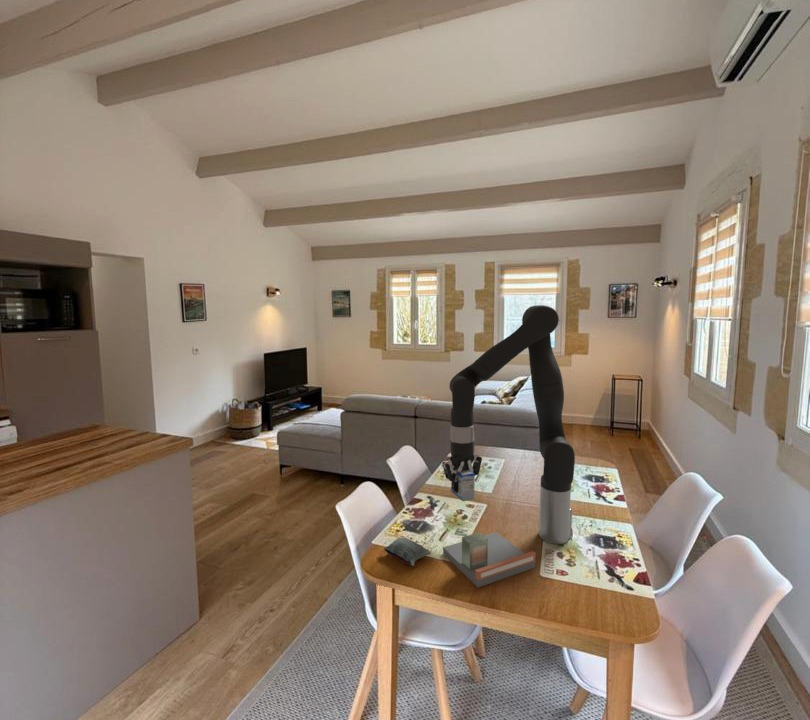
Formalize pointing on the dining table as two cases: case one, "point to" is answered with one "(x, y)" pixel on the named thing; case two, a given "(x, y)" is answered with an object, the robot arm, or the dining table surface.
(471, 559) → the sage tin
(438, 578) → the dining table surface
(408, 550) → the grey bean bag
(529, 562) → the shelf
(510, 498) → the dining table surface
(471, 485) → the medicine box
